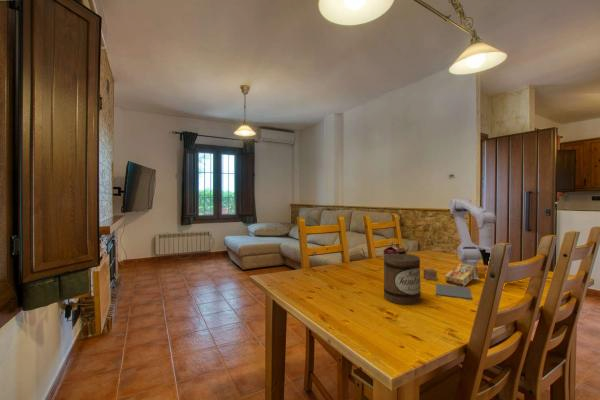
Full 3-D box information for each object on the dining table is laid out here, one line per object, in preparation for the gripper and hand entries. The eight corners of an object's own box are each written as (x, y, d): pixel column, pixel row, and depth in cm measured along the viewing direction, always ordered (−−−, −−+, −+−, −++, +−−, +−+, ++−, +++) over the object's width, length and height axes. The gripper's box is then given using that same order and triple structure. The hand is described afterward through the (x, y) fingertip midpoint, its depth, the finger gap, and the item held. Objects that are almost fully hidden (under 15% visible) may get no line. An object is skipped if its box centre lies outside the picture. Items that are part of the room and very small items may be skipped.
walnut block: (423, 278, 151) (423, 268, 151) (433, 278, 151) (433, 268, 151) (426, 280, 146) (426, 271, 146) (436, 280, 146) (436, 271, 146)
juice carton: (400, 286, 137) (399, 241, 137) (398, 290, 131) (398, 244, 131) (386, 285, 140) (385, 241, 140) (384, 289, 134) (383, 243, 134)
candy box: (463, 287, 135) (478, 273, 143) (462, 279, 134) (477, 266, 142) (445, 282, 142) (460, 269, 150) (444, 274, 142) (459, 262, 150)
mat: (436, 284, 139) (436, 283, 139) (468, 288, 133) (468, 287, 133) (435, 295, 125) (435, 293, 125) (472, 299, 118) (472, 298, 118)
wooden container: (403, 307, 111) (402, 252, 111) (376, 296, 124) (376, 246, 124) (428, 300, 118) (427, 248, 118) (400, 290, 131) (400, 244, 131)
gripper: (474, 234, 144) (475, 261, 144) (478, 238, 131) (478, 267, 131) (491, 235, 141) (491, 262, 141) (496, 239, 128) (496, 269, 128)
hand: (486, 265), depth 136 cm, fingers closed
